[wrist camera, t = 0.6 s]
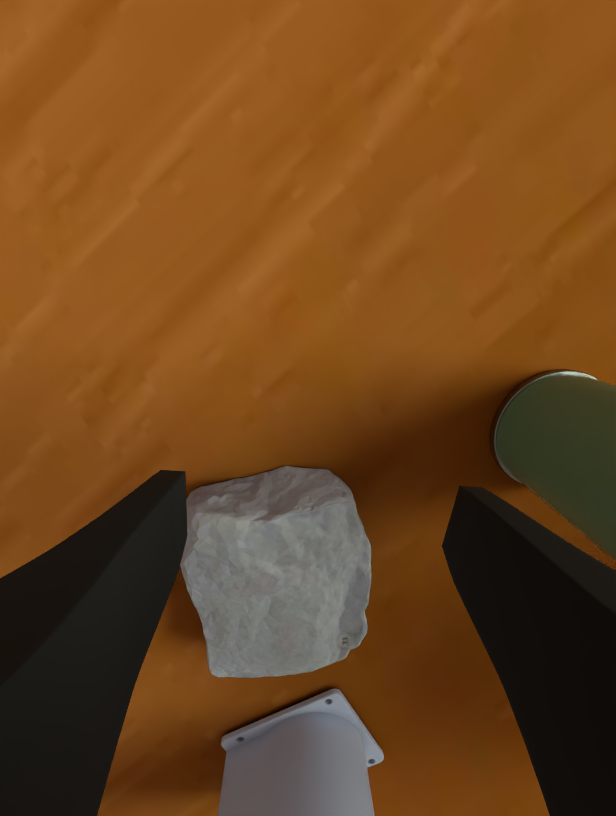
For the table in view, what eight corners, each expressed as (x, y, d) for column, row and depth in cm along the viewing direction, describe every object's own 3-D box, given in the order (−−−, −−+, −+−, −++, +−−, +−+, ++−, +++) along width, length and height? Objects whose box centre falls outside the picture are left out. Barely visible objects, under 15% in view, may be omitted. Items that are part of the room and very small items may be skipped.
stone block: (340, 444, 23) (170, 483, 21) (372, 481, 19) (161, 535, 17) (357, 596, 27) (215, 640, 25) (387, 656, 23) (217, 716, 21)
